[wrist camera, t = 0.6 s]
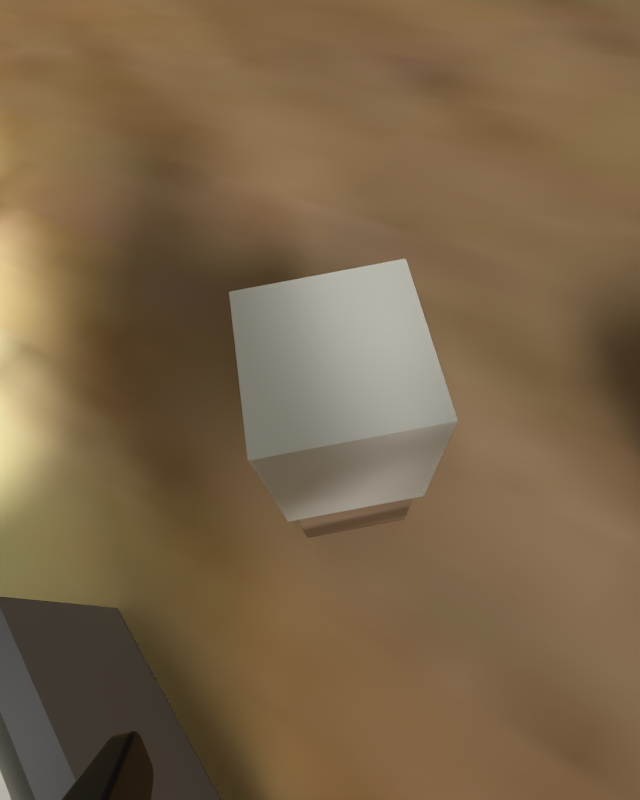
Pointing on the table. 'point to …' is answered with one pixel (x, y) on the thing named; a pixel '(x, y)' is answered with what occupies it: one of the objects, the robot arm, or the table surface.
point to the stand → (355, 518)
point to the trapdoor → (11, 770)
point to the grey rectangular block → (340, 389)
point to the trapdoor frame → (85, 698)
